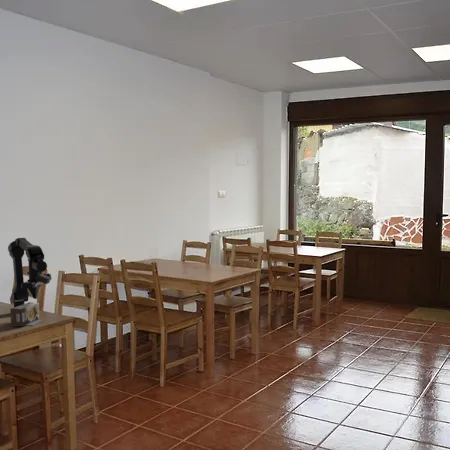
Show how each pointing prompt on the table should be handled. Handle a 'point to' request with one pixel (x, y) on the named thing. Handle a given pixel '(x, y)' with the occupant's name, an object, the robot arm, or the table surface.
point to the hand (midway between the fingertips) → (35, 298)
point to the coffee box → (24, 314)
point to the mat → (33, 323)
